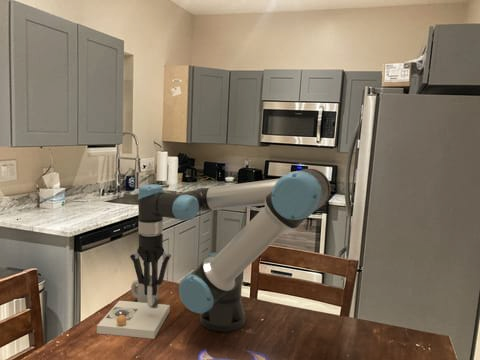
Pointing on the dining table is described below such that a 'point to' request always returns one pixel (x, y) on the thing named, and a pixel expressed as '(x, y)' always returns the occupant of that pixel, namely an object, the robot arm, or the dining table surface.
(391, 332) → the dining table surface
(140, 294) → the cup
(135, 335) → the board
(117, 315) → the ball
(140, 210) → the robot arm
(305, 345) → the dining table surface
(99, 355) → the dining table surface
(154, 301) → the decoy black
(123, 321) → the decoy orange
